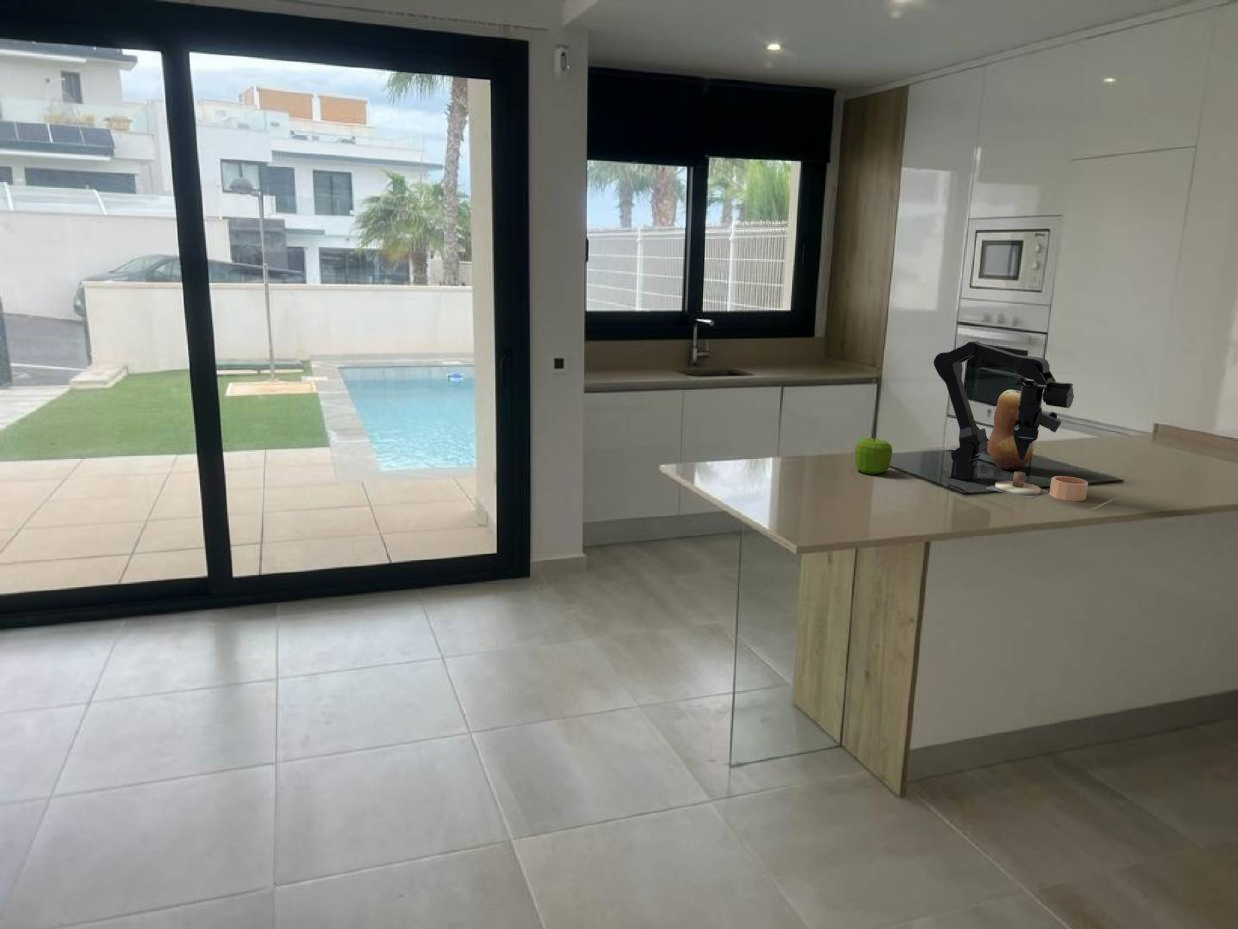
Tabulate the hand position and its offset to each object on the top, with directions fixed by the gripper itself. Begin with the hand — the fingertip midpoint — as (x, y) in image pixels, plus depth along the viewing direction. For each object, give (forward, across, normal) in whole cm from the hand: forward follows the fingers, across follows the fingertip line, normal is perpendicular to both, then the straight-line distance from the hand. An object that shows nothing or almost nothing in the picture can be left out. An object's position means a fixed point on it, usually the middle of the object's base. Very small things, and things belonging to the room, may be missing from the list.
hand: (1022, 456), depth 253 cm
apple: (+11, -1, +41) cm, 42 cm away
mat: (+10, 0, 0) cm, 10 cm away
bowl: (+10, 0, -13) cm, 17 cm away
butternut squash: (+10, +27, +4) cm, 30 cm away
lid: (+10, 0, 0) cm, 10 cm away
